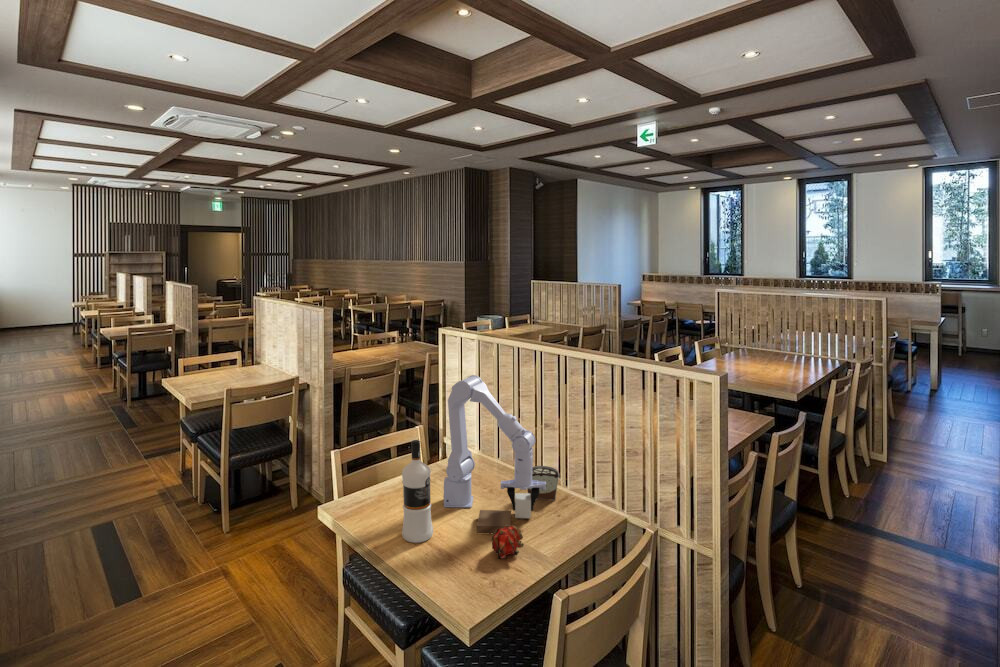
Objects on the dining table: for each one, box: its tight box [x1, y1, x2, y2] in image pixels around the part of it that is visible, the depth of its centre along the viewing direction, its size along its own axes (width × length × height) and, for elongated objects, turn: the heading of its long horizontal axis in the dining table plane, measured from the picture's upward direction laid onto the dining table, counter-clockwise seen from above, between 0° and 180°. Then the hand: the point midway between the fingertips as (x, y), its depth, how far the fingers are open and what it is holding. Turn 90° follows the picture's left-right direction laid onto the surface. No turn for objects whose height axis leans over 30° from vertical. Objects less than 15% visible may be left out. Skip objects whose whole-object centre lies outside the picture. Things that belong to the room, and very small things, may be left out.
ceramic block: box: [514, 492, 532, 519], centre depth 174 cm, size 5×5×6 cm
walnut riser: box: [476, 509, 512, 535], centre depth 168 cm, size 10×10×3 cm
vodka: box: [401, 439, 434, 544], centre depth 160 cm, size 9×9×30 cm
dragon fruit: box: [491, 524, 525, 560], centre depth 152 cm, size 8×8×12 cm
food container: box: [526, 465, 561, 501], centre depth 188 cm, size 12×6×10 cm, turn 84°
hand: (522, 509), depth 174 cm, fingers closed on ceramic block, 5 cm apart
